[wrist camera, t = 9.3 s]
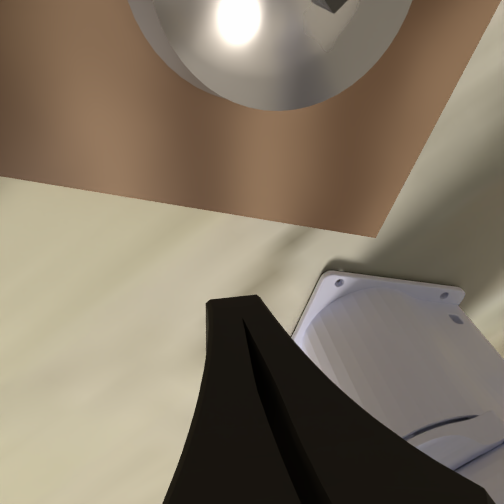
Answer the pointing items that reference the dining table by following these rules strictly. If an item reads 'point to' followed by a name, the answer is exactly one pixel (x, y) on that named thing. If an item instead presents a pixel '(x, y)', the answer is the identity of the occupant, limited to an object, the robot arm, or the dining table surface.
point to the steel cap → (280, 45)
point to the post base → (218, 116)
